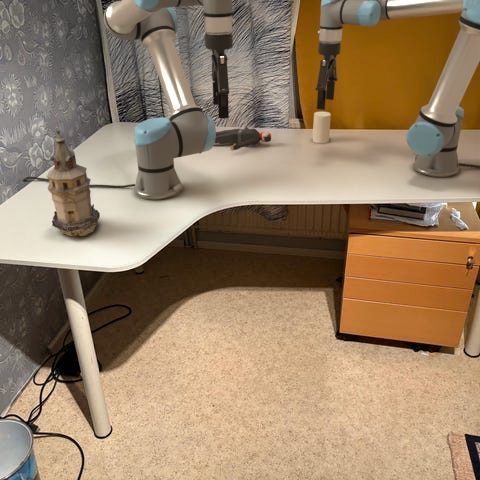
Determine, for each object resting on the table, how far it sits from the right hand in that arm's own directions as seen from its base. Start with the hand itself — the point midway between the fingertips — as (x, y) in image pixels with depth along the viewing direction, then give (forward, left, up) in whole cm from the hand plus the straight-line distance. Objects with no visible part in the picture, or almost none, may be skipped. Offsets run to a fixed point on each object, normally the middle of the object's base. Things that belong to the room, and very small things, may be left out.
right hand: (325, 104), depth 192 cm
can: (-9, -19, -21) cm, 29 cm away
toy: (+26, -28, -21) cm, 43 cm away
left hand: (+46, +25, +9) cm, 53 cm away
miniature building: (+91, +26, -21) cm, 97 cm away
